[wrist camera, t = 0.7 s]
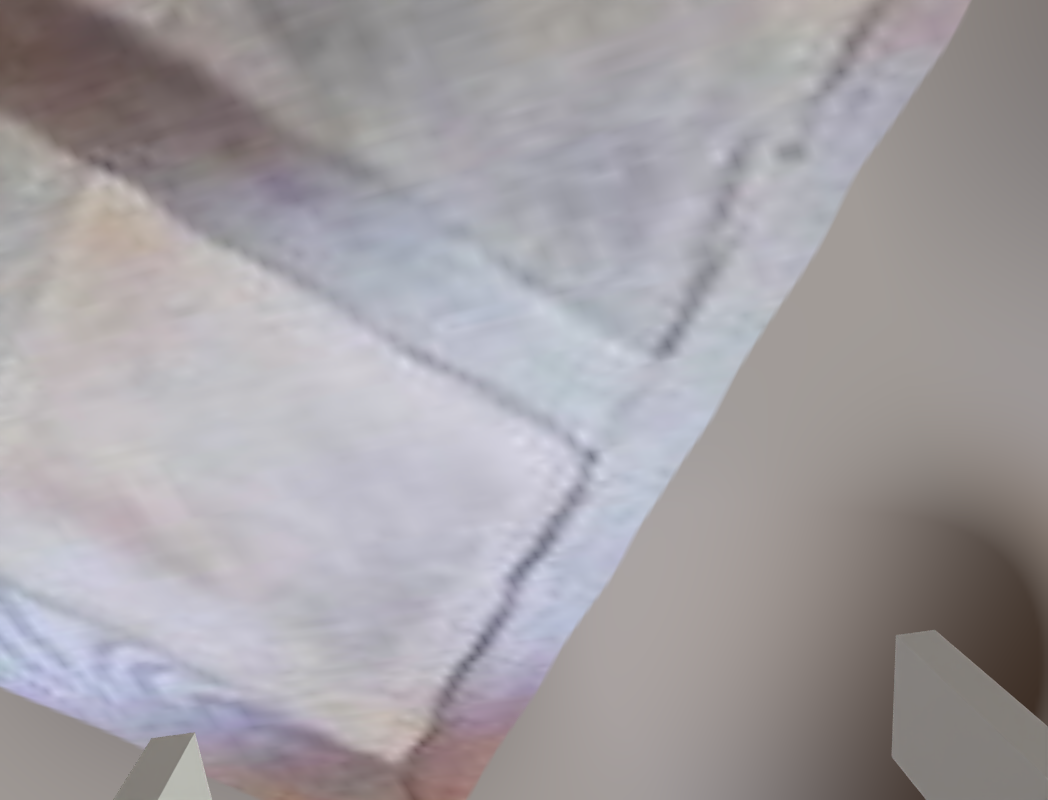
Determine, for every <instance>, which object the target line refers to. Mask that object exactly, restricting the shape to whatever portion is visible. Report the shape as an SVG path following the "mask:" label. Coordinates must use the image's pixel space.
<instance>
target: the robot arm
mask: <svg viewBox="0 0 1048 800" xmlns="http://www.w3.org/2000/svg"><path fill="white" fill-rule="evenodd" d="M895 652H896V653H895V679H894V708H893V735H892V758H893V759H894V760H895V762H896V763H897V764H898V765H899V766H900V768H901V769H902V770H903V771H904V773H905V774H906V775H907V776H908V778H909V779H910V780H911V781H912V783H913V784H914V785H915V786H916V788H917V789H918V790H919V791H920V793H921V794H922V795H923V796H924V797H925V799H926V800H1048V726H1046V725H1045V724H1044V723H1043V722H1042V721H1041V720H1039V719H1038V718H1037V717H1036V716H1035V715H1034V714H1032V713H1031V712H1030V711H1029V710H1028V709H1026V708H1025V707H1024V706H1023V705H1022V704H1021V703H1020V702H1018V701H1017V700H1016V699H1015V698H1013V697H1012V696H1011V695H1010V694H1009V693H1008V692H1006V690H1004V689H1003V688H1002V687H1001V686H1000V685H998V684H997V683H996V682H995V681H994V680H993V679H991V678H990V677H989V676H988V675H987V674H985V672H983V671H982V670H981V669H980V668H979V667H977V666H976V665H975V664H974V663H973V662H972V661H970V660H969V659H968V658H967V657H966V656H965V655H963V654H962V653H961V652H960V651H959V650H958V649H956V648H955V647H954V646H953V645H952V644H951V643H949V642H948V641H947V640H946V639H945V638H944V637H942V636H941V635H940V634H939V633H937V631H935V630H931V631H924V632H917V633H910V634H902V635H896V651H895ZM113 800H212V798H211V794H210V790H209V786H208V783H207V778H206V774H205V770H204V767H203V763H202V759H201V755H200V751H199V747H198V743H197V739H196V735H195V732H194V733H187V734H180V735H173V736H166V737H158V738H151V740H150V742H149V743H148V745H147V746H146V748H145V750H144V751H143V753H142V754H141V756H140V758H139V759H138V761H137V762H136V764H135V766H134V767H133V769H132V771H131V772H130V774H129V775H128V777H127V778H126V780H125V782H124V784H123V785H122V786H121V788H120V790H119V791H118V793H117V795H116V796H115V798H114V799H113Z"/></svg>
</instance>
